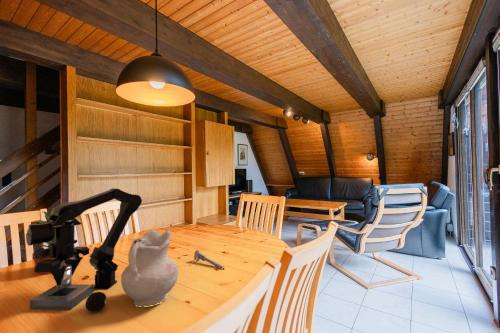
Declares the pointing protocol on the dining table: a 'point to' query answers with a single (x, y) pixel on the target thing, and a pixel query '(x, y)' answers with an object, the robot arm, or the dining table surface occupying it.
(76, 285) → the jig
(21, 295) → the dining table surface
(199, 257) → the caliper
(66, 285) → the grey cylinder
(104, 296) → the billiard ball
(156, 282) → the ceramic pitcher
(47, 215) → the potted plant
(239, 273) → the dining table surface
